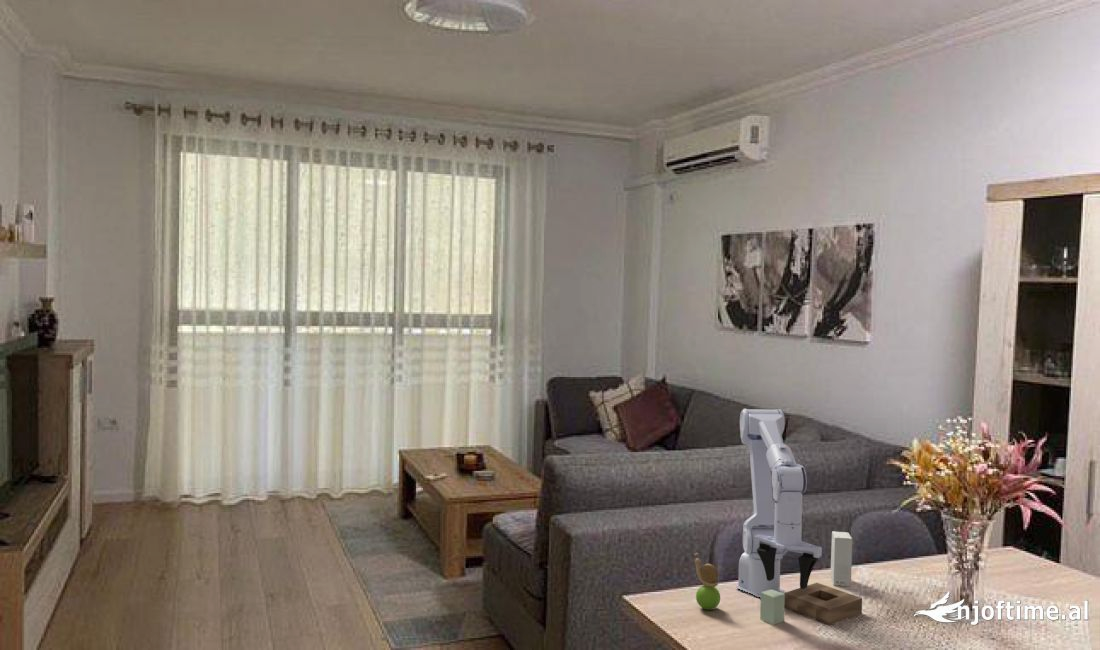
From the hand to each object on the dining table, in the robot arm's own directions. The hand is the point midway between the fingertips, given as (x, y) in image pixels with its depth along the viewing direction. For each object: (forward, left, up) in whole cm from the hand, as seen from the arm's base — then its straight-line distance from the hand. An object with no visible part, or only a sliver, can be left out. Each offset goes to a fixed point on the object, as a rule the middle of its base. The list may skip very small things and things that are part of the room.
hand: (786, 583), depth 178 cm
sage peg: (-3, -1, -9) cm, 9 cm away
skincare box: (-9, +33, -9) cm, 35 cm away
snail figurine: (-16, -8, -9) cm, 20 cm away
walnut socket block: (0, +13, -9) cm, 16 cm away
